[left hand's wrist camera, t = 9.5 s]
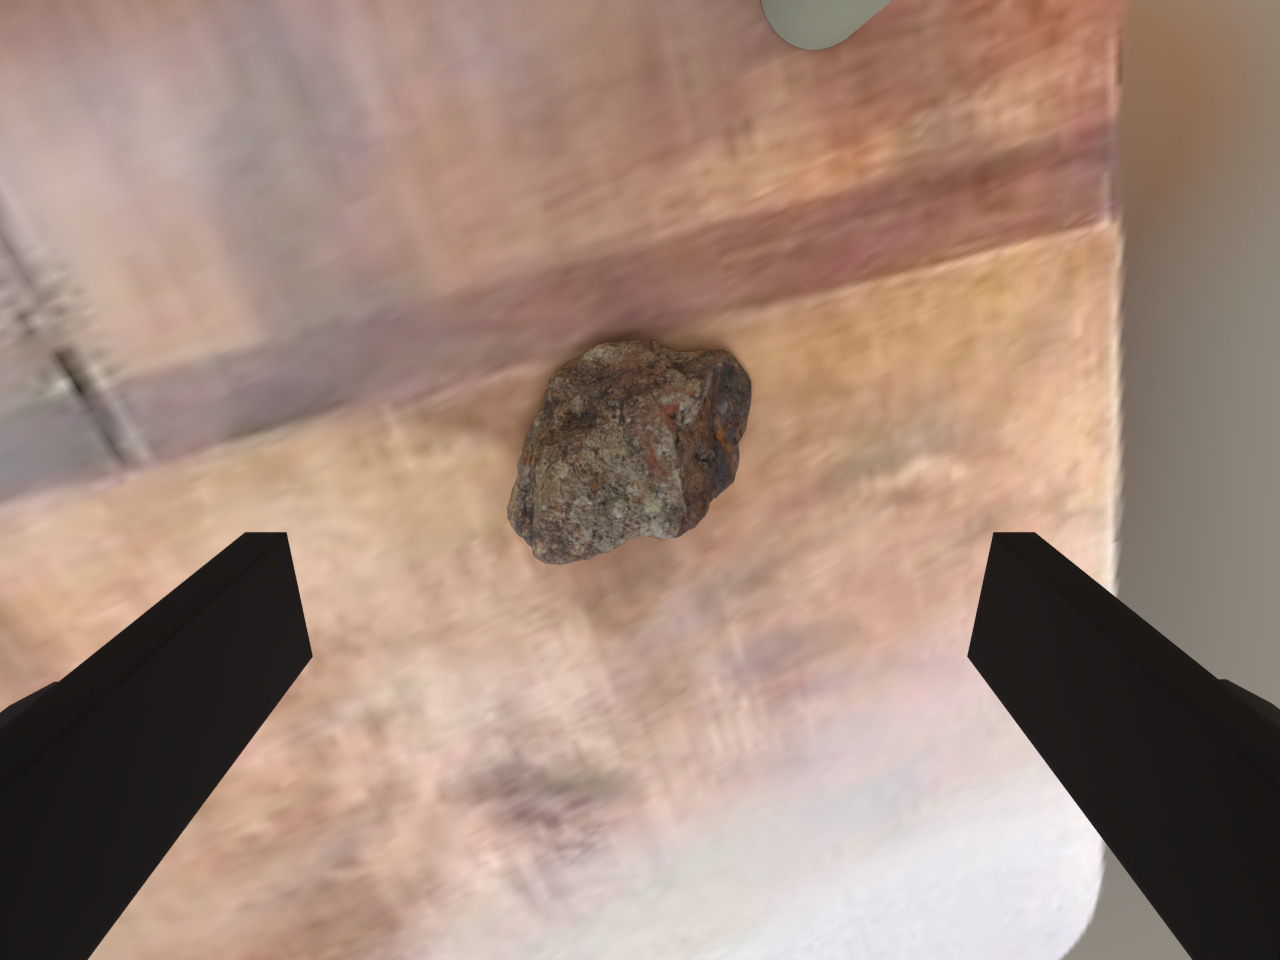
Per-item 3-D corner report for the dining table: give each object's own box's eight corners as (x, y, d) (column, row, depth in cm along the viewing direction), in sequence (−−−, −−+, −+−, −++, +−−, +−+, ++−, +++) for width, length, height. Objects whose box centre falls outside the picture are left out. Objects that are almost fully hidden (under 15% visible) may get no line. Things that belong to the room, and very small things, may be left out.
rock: (748, 485, 42) (744, 324, 39) (788, 548, 34) (787, 352, 31) (516, 511, 42) (489, 349, 38) (501, 581, 34) (465, 385, 30)
